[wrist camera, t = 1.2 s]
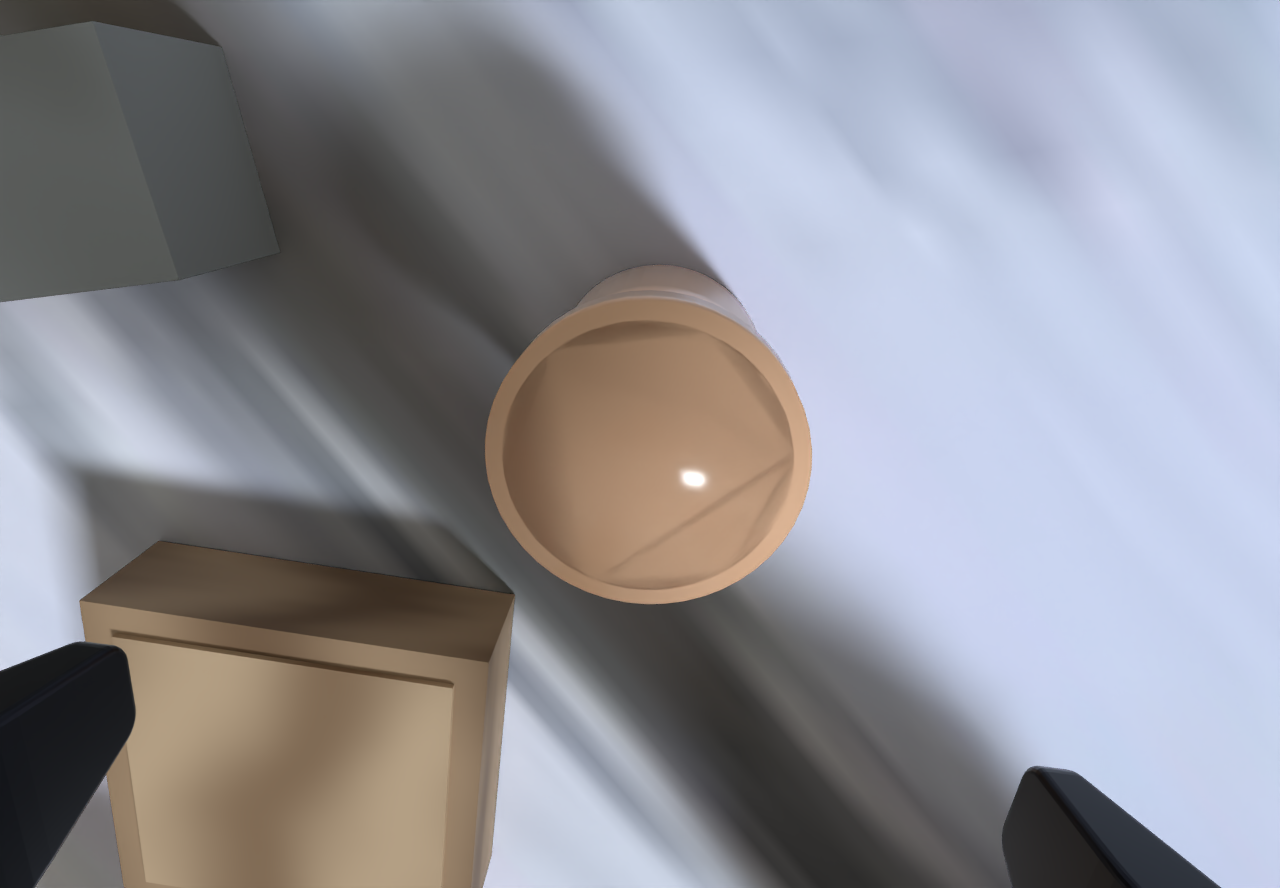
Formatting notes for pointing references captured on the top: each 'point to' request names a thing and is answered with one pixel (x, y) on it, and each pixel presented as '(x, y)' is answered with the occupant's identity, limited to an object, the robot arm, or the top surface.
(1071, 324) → the top surface
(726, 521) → the terracotta pot
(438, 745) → the square wooden tray
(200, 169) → the grey cube
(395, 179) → the top surface
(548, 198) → the top surface
